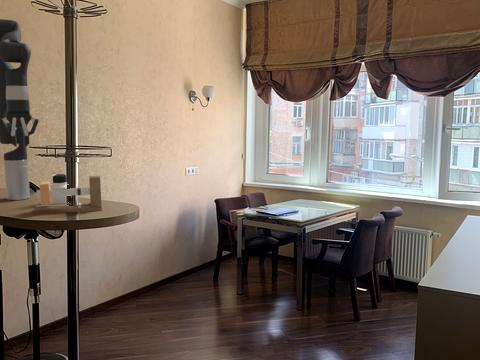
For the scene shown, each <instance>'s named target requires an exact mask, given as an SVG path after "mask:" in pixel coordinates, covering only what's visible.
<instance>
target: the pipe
mask: <svg viewBox="0 0 480 360" xmlns="http://www.w3.org/2000/svg"><path fill="white" fill-rule="evenodd" d="M52 196H71V197H72V196H90V187H77V188H76V187H73V188H70V189H50V197H52ZM36 198H41V195H40V189H37V190H36Z"/></svg>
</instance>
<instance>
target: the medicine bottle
mask: <svg viewBox="0 0 480 360" xmlns="http://www.w3.org/2000/svg"><path fill="white" fill-rule="evenodd" d="M66 176H67V175H66V174H64V173H57V174H52V175H51V176H50V187H51V189H67V185H68V178H67V177H66ZM55 204H66V196H52V197H51V204H50V205H55Z"/></svg>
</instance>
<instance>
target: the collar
mask: <svg viewBox="0 0 480 360" xmlns="http://www.w3.org/2000/svg"><path fill="white" fill-rule="evenodd" d="M50 186H51V180H47V181H41V182H40V184H39V190H40V195H41V197H40V205H41V206H45V205H52V204H51V197H50V189H51V187H50Z"/></svg>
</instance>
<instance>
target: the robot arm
mask: <svg viewBox="0 0 480 360" xmlns="http://www.w3.org/2000/svg"><path fill="white" fill-rule="evenodd" d="M31 56H32V50H31V48H30V46H29V45H28V44H26V43H24V42H22V31H21V26H20V24H19V22H17V21H16V20H12V19H3V18H2V19H1V18H0V144H1V145H13V146H14V147H15V148H14V149H12V150H10V151H8V152H5V153H4V154H3V165H4V176H5V177H4V178H5V191H6V192H5V193H6V200H8V201H19V200H21V201H22V200H27V199H30V198H31V194H30V192H31V191H30V178H29V165H28V164H29V162H28V152H27V150H28V149H27V148H28V145H30V136H31V135H33V134H35V132H36V129H37V128H38V124H39V122H40V120H39V119H38V118H34V117H32V114H31V108H30V93H29V92H30V91H29V87H28V69H29V64H30V60H31ZM11 63H13V64H14V63H15V64H20V66H19V67H17V68H15V67H14V66H13V65H12V64H11ZM30 122H31V124H32V126H31V129H30V131H29V127H28V125H29V123H30Z"/></svg>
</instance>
